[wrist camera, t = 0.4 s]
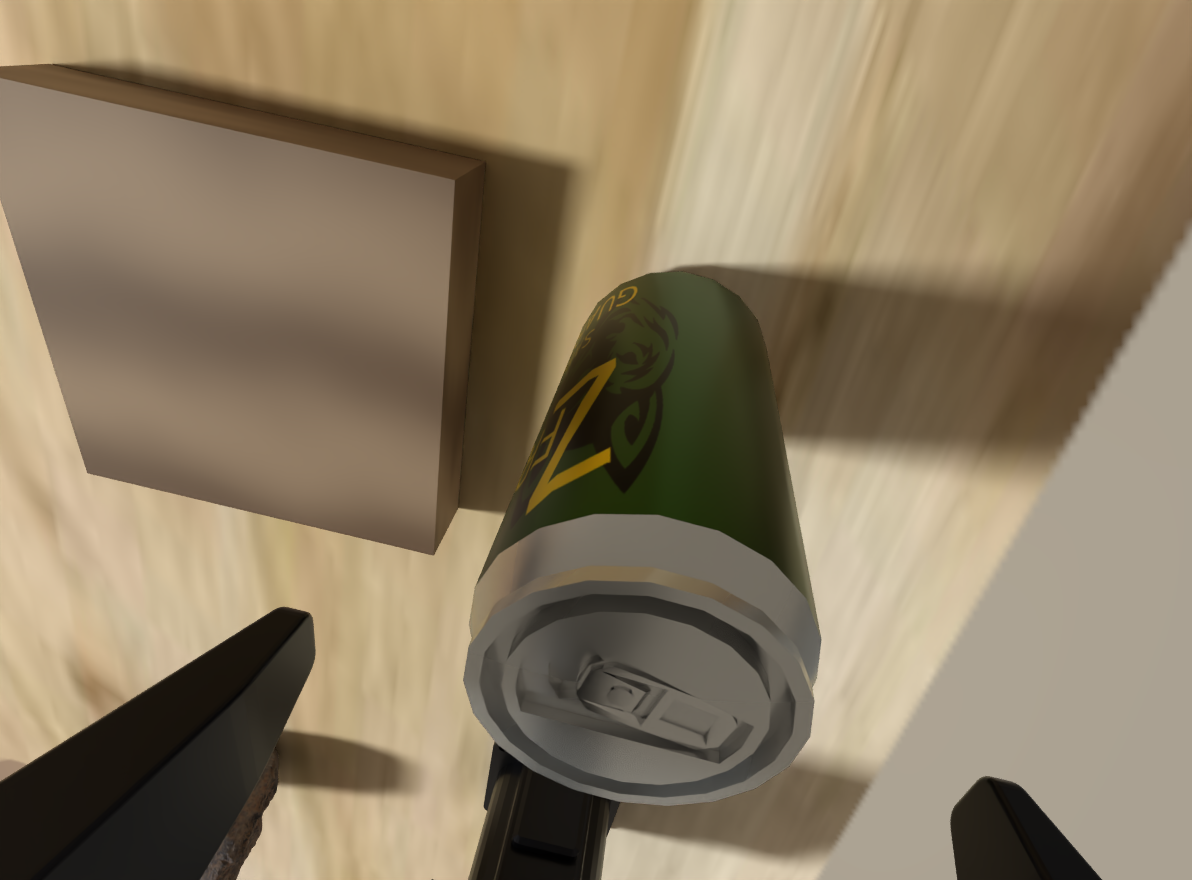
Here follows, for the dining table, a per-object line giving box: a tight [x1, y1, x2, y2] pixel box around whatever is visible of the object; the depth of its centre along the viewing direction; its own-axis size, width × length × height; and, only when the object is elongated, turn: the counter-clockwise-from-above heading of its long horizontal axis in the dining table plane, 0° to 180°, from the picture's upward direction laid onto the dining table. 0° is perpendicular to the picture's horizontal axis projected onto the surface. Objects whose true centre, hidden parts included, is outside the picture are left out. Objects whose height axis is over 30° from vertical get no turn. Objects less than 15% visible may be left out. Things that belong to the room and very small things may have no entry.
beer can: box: [463, 271, 821, 806], centre depth 14 cm, size 5×5×12 cm
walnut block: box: [0, 64, 486, 555], centre depth 19 cm, size 12×12×2 cm
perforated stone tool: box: [200, 750, 279, 880], centre depth 33 cm, size 15×5×7 cm, turn 92°
